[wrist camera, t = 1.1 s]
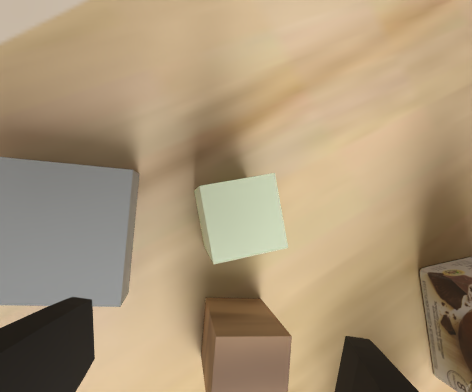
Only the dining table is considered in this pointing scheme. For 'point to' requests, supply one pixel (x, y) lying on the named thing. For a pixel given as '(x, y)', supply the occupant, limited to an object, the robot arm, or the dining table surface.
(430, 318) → the coffee box
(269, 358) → the walnut block
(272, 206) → the sage block
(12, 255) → the gray slab
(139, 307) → the dining table surface
